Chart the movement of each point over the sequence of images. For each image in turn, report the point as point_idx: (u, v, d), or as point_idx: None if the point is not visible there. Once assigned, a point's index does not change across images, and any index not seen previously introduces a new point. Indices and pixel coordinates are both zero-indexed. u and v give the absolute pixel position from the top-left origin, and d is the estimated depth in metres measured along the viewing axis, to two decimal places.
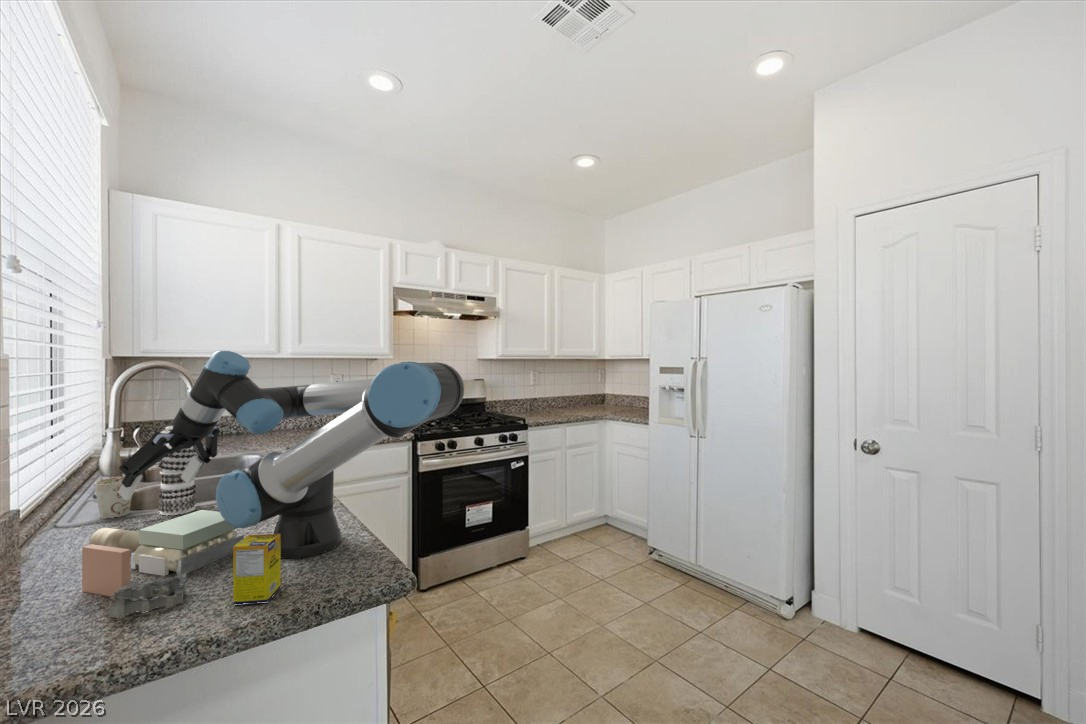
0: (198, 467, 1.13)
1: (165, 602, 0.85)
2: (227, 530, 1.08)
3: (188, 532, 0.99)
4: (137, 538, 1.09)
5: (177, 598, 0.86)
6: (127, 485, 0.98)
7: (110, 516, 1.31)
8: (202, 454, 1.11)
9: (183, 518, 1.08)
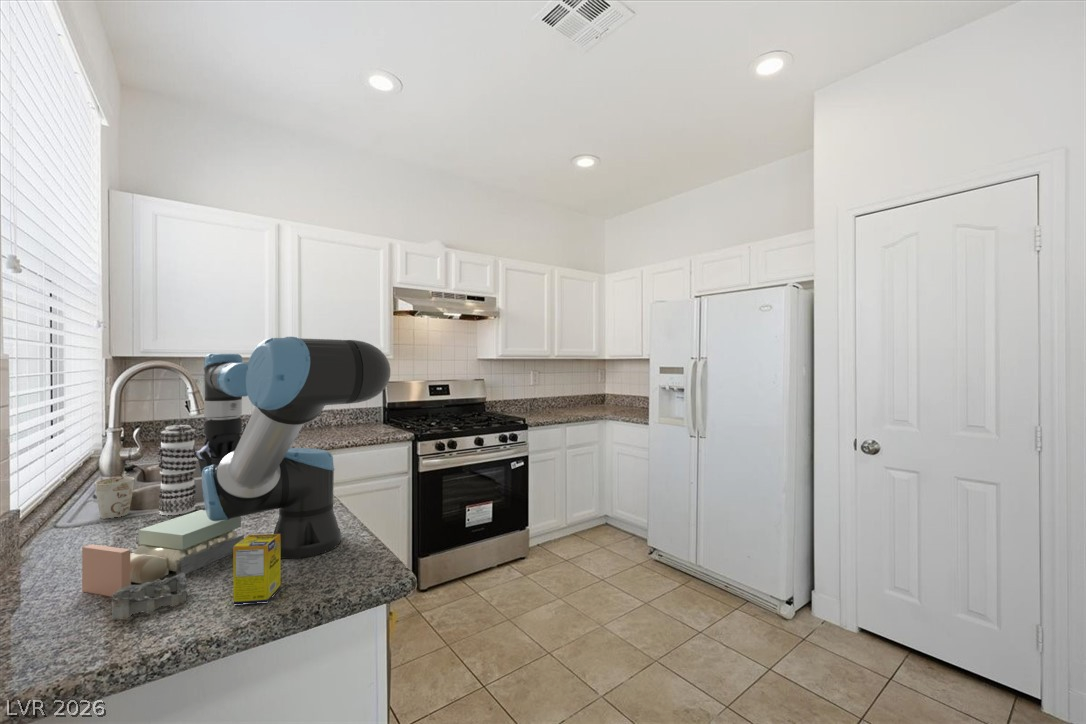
0: None
1: (170, 601, 0.85)
2: (227, 530, 1.08)
3: (188, 532, 0.99)
4: (162, 566, 0.95)
5: (181, 596, 0.87)
6: None
7: (110, 516, 1.31)
8: None
9: (183, 518, 1.08)
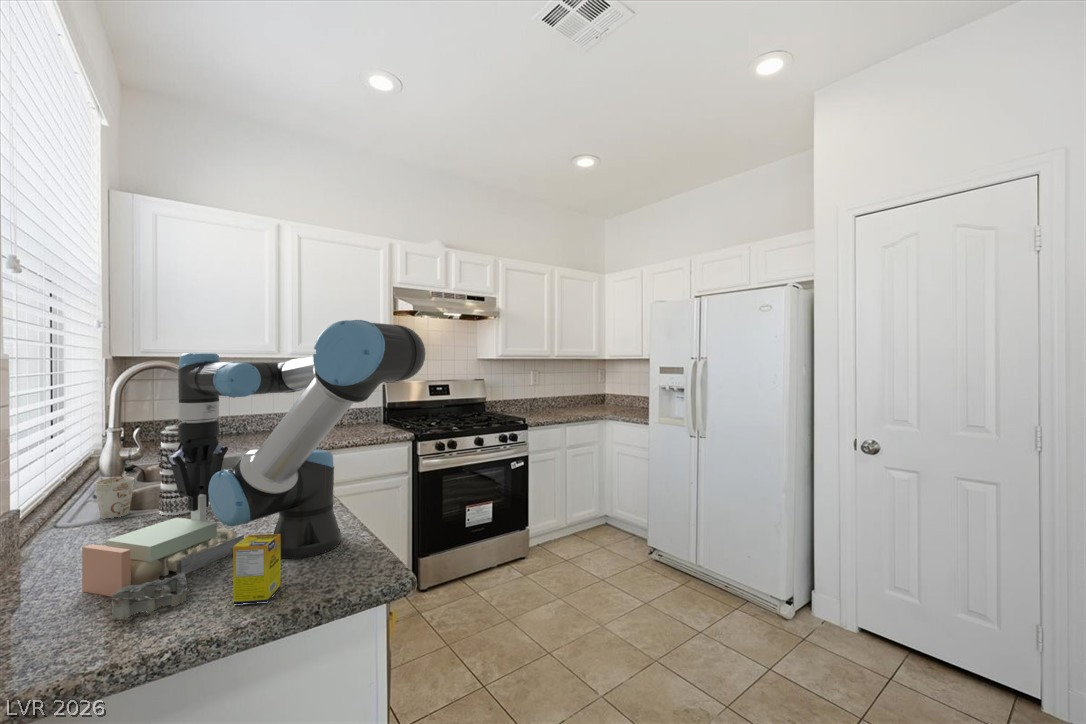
0: None
1: (170, 600, 0.85)
2: (201, 540, 1.02)
3: (157, 544, 0.93)
4: (155, 566, 0.94)
5: (181, 596, 0.87)
6: None
7: (110, 516, 1.31)
8: None
9: (155, 527, 1.02)
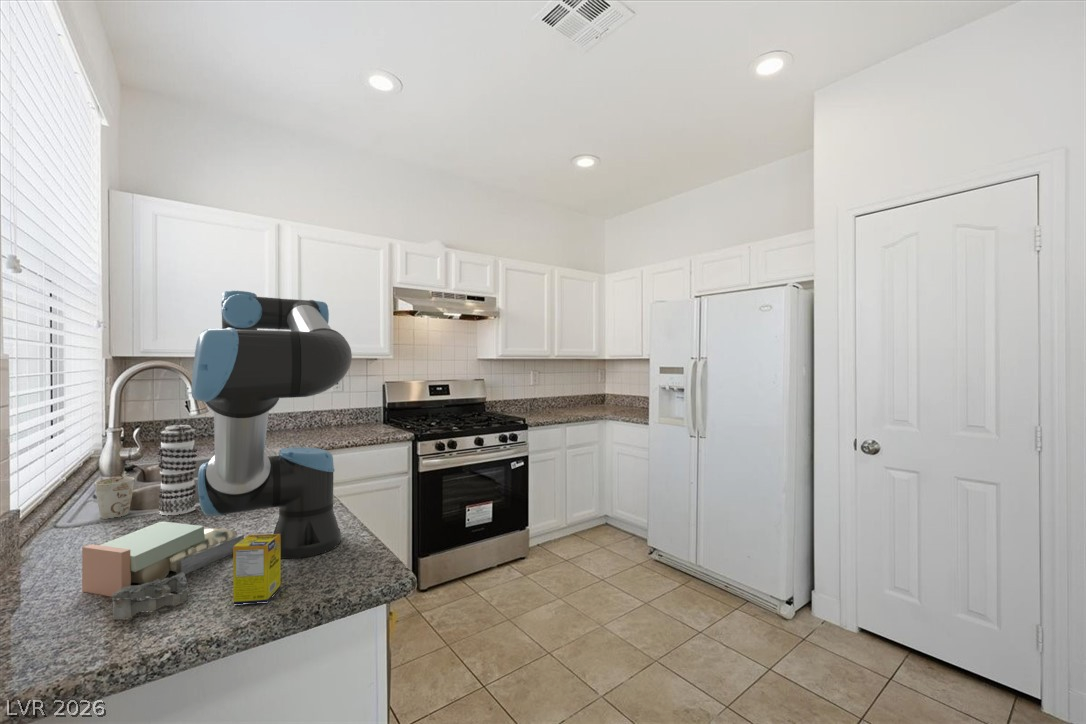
0: None
1: (171, 600, 0.85)
2: (188, 545, 0.99)
3: (141, 553, 0.90)
4: (159, 563, 0.95)
5: (182, 596, 0.87)
6: None
7: (110, 516, 1.31)
8: None
9: (139, 533, 0.99)
